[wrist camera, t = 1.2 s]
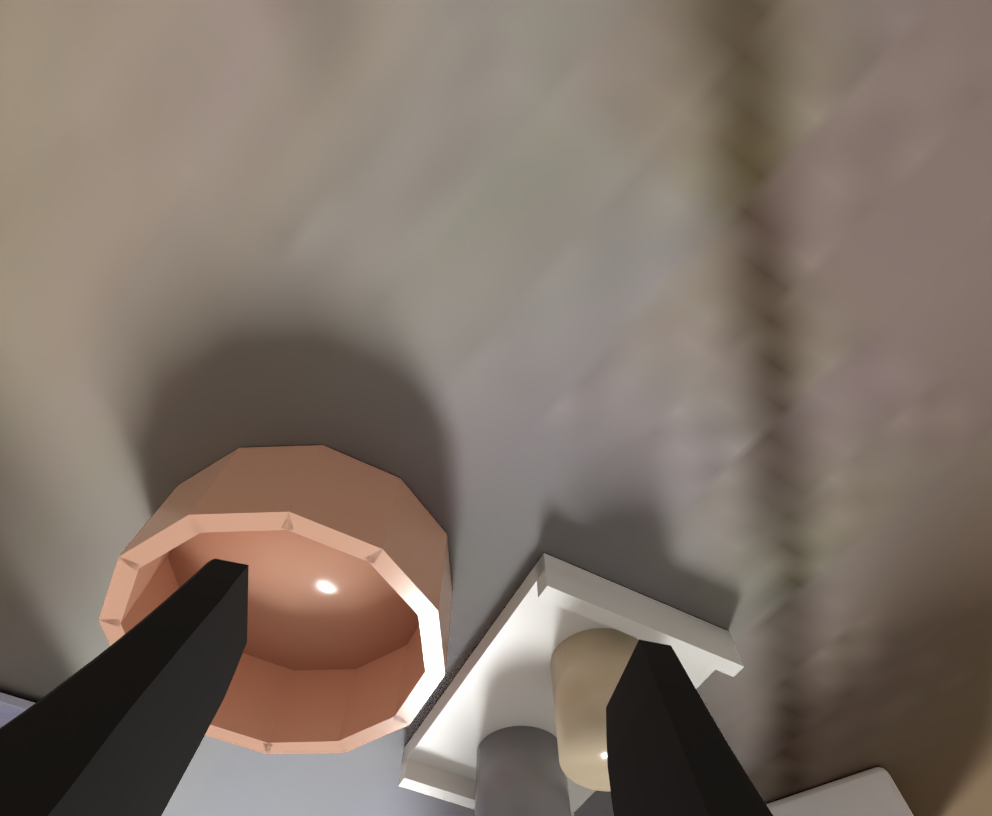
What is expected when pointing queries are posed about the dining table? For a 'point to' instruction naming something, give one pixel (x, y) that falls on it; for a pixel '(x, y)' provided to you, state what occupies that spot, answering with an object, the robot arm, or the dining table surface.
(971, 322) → the dining table surface
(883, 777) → the medicine bottle
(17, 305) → the dining table surface
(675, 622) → the parts tray
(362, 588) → the terracotta bowl
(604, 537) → the dining table surface
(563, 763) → the sandstone pebble
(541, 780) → the grey rounded short piece
